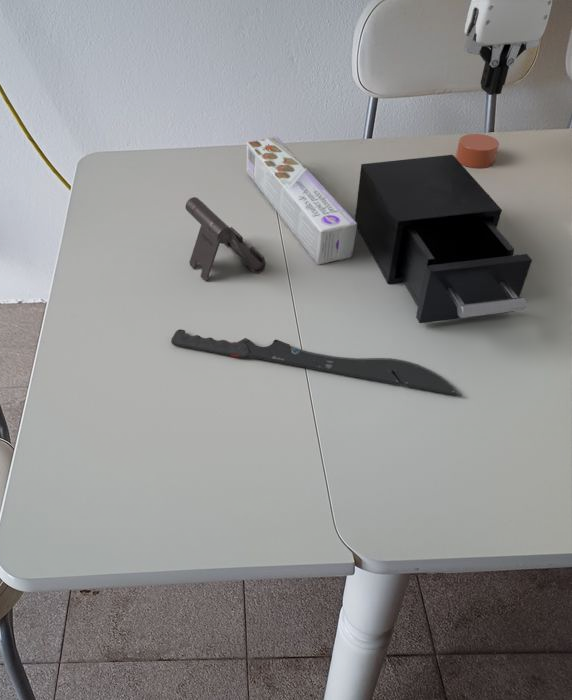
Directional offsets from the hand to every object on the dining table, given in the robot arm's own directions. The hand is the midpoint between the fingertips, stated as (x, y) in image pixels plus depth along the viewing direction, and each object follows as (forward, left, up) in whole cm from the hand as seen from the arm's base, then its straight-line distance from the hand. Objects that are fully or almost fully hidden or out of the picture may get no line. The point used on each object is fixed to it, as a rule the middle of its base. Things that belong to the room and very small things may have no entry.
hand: (490, 90), depth 96 cm
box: (+31, +9, -11) cm, 35 cm away
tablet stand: (+44, +20, -11) cm, 49 cm away
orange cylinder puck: (0, -1, -11) cm, 11 cm away
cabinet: (+18, +21, -11) cm, 30 cm away
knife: (+37, +40, -11) cm, 56 cm away
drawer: (+18, +33, -10) cm, 39 cm away
